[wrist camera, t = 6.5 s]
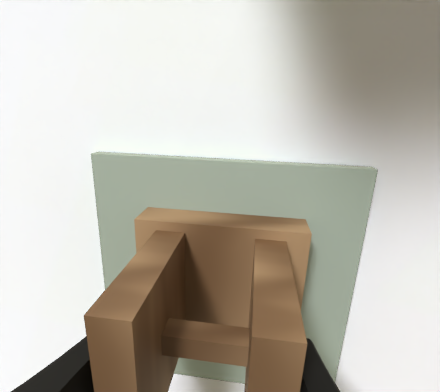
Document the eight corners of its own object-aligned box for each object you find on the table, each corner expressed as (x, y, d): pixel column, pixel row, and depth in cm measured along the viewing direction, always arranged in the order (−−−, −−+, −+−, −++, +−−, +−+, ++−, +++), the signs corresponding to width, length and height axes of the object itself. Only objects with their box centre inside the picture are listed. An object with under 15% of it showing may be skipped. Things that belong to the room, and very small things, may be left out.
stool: (305, 219, 12) (354, 334, 6) (290, 332, 14) (315, 511, 8) (147, 206, 13) (46, 297, 7) (153, 315, 15) (76, 465, 9)
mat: (371, 166, 12) (377, 170, 11) (329, 385, 15) (331, 396, 15) (98, 151, 13) (91, 153, 13) (118, 355, 17) (112, 364, 16)
